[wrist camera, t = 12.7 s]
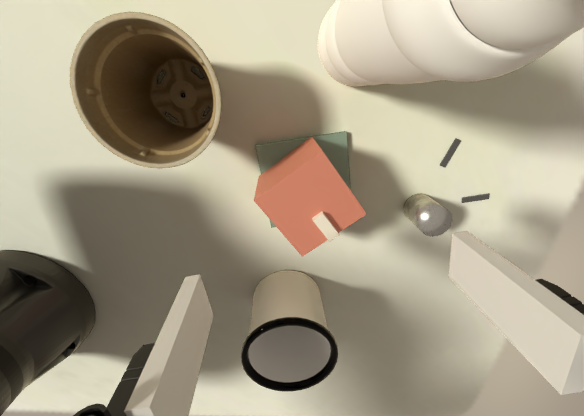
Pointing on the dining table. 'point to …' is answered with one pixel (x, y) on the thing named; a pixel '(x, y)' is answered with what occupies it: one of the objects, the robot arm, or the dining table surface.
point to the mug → (288, 334)
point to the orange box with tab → (307, 198)
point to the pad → (275, 151)
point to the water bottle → (440, 38)
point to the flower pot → (145, 90)
